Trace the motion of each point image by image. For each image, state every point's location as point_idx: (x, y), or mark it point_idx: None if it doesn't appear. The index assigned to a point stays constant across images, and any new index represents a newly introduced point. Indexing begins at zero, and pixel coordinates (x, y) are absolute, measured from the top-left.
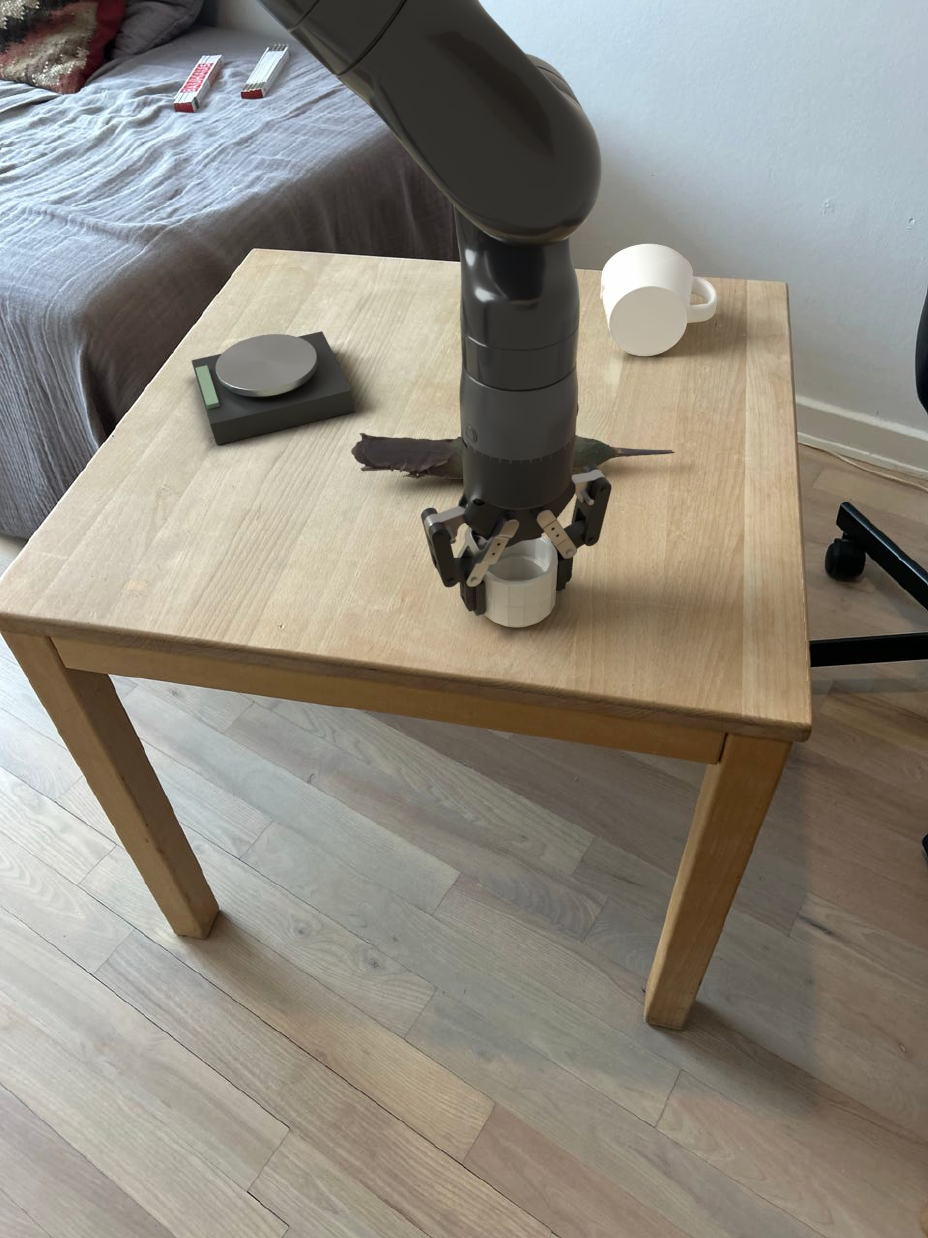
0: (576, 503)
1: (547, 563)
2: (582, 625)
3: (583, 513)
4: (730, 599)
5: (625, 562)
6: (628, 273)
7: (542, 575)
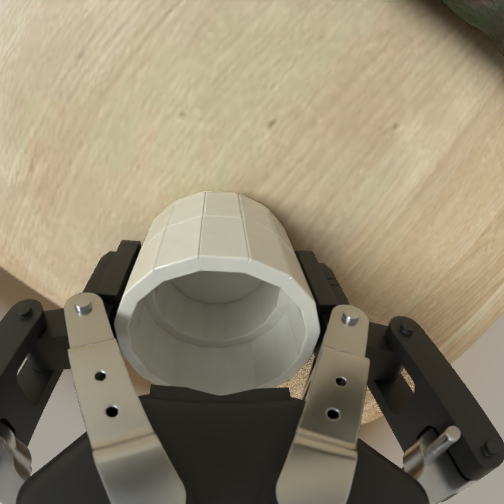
0: (422, 382)
1: (291, 307)
2: None
3: (402, 408)
4: (439, 339)
5: (418, 252)
6: None
7: None
